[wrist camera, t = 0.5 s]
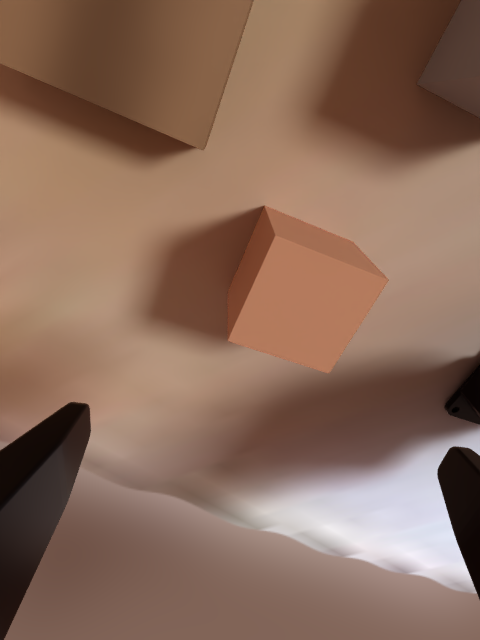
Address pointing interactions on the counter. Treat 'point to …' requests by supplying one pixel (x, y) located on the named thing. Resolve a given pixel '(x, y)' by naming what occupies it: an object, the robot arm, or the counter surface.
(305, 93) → the counter surface
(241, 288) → the terracotta cube
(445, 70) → the grey cube
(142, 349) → the counter surface
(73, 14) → the walnut slab
